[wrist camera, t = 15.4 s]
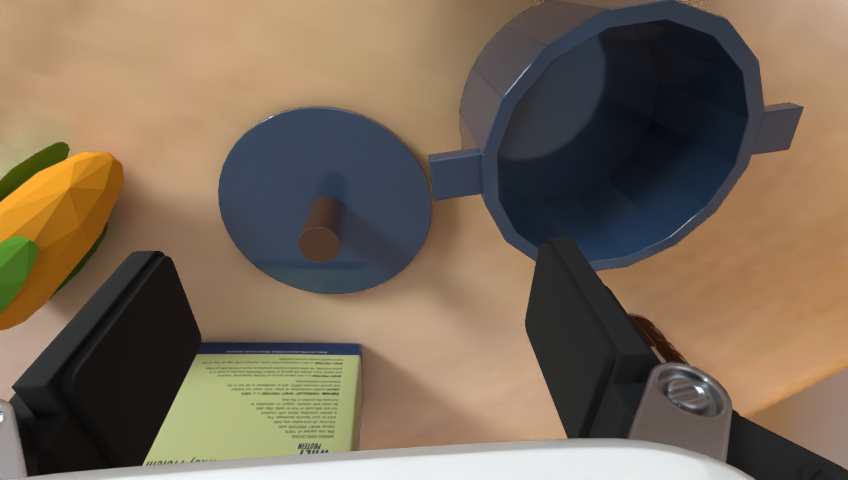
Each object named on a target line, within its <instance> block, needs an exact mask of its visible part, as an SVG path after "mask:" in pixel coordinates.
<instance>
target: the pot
mask: <svg viewBox="0 0 848 480" xmlns="http://www.w3.org/2000/svg"><path fill="white" fill-rule="evenodd" d="M802 111H803V107H802V106H799V105H796V104H793V103H790V102H788V103H781V104H775V105H768V106H764V102H763V94H762V85H761V76H760V67H759V61H758V59H757V58H756V56H755V55H754V54H753V52H752V51H751V50H750V48H749V47H748V46H747V45H746V43H745V42H744V41H743V39H742V38H741V37H740V35H739V34H738V33H737V31H736V30H735V29H734V27H733V26H732V25H731V23H730V22H729V21H728V20H727V19H725V18H724V17H721V16H718V15H716V14H713V13H710V12H707V11H704V10H702V9H699V8H696V7H693V6H690V5H688V4H685V3H682V2H679V1H676V0H545V1H544V2H542V3H540V4H538V5H536V6H534V7H532V8H530V9H528V10H526V11H524V12H522V13H521V14H520V15H518V16H517V17H515V18H514V19H513V20H511V21H510V22H509V23H507V24H506V25H505V26H504V27H503V28H502V29H501V30H500V31H499V32H497V33H496V35H495V36H494V37H493V38H492V39H491V40H490V42H489V43H488V44H487V45H486V46H485V48H484V49H483V51H482V52H481V54H480V55H479V57H478V58H477V60H476V62H475V64H474V66H473V67H472V70H471V71H470V74H469V76H468V79H467V82H466V84H465V87H464V91H463V95H462V99H461V106H460V110H459V115H460V134H461V140H462V150H459V151H452V152H446V153H439V154H432V155H429V156H428V157H429V165H430V173H431V181H432V189H433V195H434V200H442V199H449V198H456V197H463V196H470V195H477V194H481V196H482V198H483V200H484V203H485V205H486V207H487V209H488V210H489V212H490V214H491V216H492V218H493V219H494V221H495V223H496V225H497V227H498V228H499V230H500V232H501V234H502V236H503V237H504V239H505V240H506V242H508V243H509V244H511V245H512V246H514V247H515V248H517V249H518V250H519V251H521V252H522V253H524V254H525V255H527V256H528V257H530V258H531V259H533V260H534V261H536V260H537V255H538V250H539V246H540V244H545V243H546V241H547V239H548V238H565V237H569V238H572V239H573V241H574V242H575V243H576V245H577V246H578V248H579V249H580V251H581V252H582V254H583V255H584V256H585V258H586V259H587V261H588V262H589V264H590V265H591V267H592V268H593V269H594V271H599V270H606V269H613V268H620V267H627V266H630V265H632V264H634V263H637V262H639V261H641V260H643V259H645V258H648V257H650V256H652V255H654V254H656V253H659V252H661V251H663V250H665V249H668V248H670V247H672V246H674V245H676V244H677V243H678V242H679V241H681V240H682V239H683V238H684V237H685V236H687V235H688V234H689V233H690V232H692V231H693V230H694V229H695V228H696V227H698V226H699V225H700V224H701V223H703V222H704V221H705V220H706V219H707V218H709V217H710V216H711V215H712V214H714V213H715V212H716V210H717V209H718V208H719V207H720V205H721V204H722V202H723V201H724V199H725V198H726V197H727V195H728V194H729V192H730V191H731V190H732V188H733V187H734V185H735V184H736V182H737V181H738V180H739V178H740V177H741V175H742V174H743V172H744V171H745V170H746V168H747V167H748V166H747V165H748V164H749V161H750V158H751V155H753V154H760V153H767V152H774V151H781V150H788V149H789V148H790V145H791V142H792V139H793V136H794V133H795V131H796V128H797V125H798V122H799V119H800V117H801V114H802Z"/></svg>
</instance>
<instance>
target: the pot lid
mask: <svg viewBox="0 0 848 480" xmlns="http://www.w3.org/2000/svg"><path fill="white" fill-rule="evenodd" d="M218 194H219V206H220V211H221V216H222V219H223V221H224V224H225V227H226V229H227V231H228V233H229V235H230V237H231V239H232V240H233V242H234V243H235V245H236V246H237V247H238V249H239V250H240V251H241V252H242V253H243V255H244V256H245V257H246V258H247V259H248V260H249V261H250V262H251V263H253V264H254V265H255V266H256V267H257V268H258V269H260V270H261V271H263V272H264V273H266V274H267V275H269V276H270V277H272V278H274V279H276V280H278V281H280V282H282V283H284V284H286V285H289V286H291V287H295V288H298V289H301V290H305V291H310V292H315V293H324V294H343V293H352V292H357V291H362V290H366V289H369V288H372V287H375V286H377V285H379V284H382V283H384V282H386V281H387V280H389V279H391V278H392V277H394V276H395V275H397V274H398V273H399V272H401V271H402V270H403V269H404V268H405V267H406V266H407V265H408V264H409V263H410V262H411V261H412V260H413V259H414V257H415V256H416V255H417V254H418V252H419V250H420V249H421V247H422V245H423V243H424V241H425V239H426V236H427V234H428V230H429V226H430V222H431V211H432V208H431V196H430V191H429V186H428V182H427V179H426V177H425V174H424V171H423V169H422V167H421V165H420V164H419V162H418V160H417V158H416V157H415V156H414V154H413V153H412V151H411V150H410V149H409V148H408V147H407V145H406V144H405V143H404V142H403V141H402V140H401V139H400V138H399V137H398V136H396V135H395V134H394V133H393V132H391V131H390V130H389V129H388V128H386V127H384V126H383V125H381V124H380V123H378V122H376V121H375V120H372V119H370V118H368V117H366V116H364V115H362V114H359V113H355V112H352V111H349V110H345V109H340V108H334V107H324V106H310V107H299V108H294V109H290V110H285V111H282V112H280V113H277V114H274V115H271V116H269V117H268V118H266V119H264V120H262V121H260V122H259V123H257V124H256V125H255V126H253V127H252V128H251V129H249V130H248V131H247V132H246V133H245V134H244V135H243V136H242V137H241V138H240V139H239V140H238V141H237V142H236V144H235V145H234V147H233V148H232V150H231V151H230V153H229V154H228V156H227V158H226V161H225V163H224V165H223V168H222V172H221V175H220V180H219V189H218Z"/></svg>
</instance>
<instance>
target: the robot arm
mask: <svg viewBox="0 0 848 480" xmlns="http://www.w3.org/2000/svg"><path fill="white" fill-rule="evenodd" d="M525 327H526V332H527V335H528V337H529V340H530V342H531V345H532V348H533V350H534V353H535V355H536V358H537V360H538V363H539V366H540V368H541V371H542V373H543V376H544V378H545V381H546V384H547V386H548V389H549V391H550V394H551V396H552V399H553V402H554V404H555V407H556V409H557V412H558V414H559V417H560V420H561V422H562V425H563V427H564V430H565V433H566V435H567V438H568V439H549V440H527V441H506V442H490V443H473V444H457V445H441V446H425V447H408V448H393V449H377V450H362V451H347V452H332V453H317V454H302V455H288V456H273V457H258V458H244V459H230V460H217V461H203V462H189V463H175V464H161V465H147V466H142V465H143V463H144V461H145V459H146V457H147V455H148V453H149V451H150V449H151V447H152V445H153V443H154V441H155V439H156V437H157V435H158V433H159V431H160V428H161V426H162V424H163V422H164V420H165V418H166V416H167V414H168V412H169V410H170V408H171V406H172V404H173V402H174V400H175V398H176V396H177V394H178V392H179V390H180V388H181V386H182V383H183V381H184V379H185V377H186V375H187V373H188V371H189V369H190V367H191V365H192V363H193V361H194V359H195V357H196V355H197V353H198V351H199V348H200V345H201V334H200V331H199V329H198V326H197V323H196V321H195V318H194V315H193V313H192V310H191V308H190V305H189V302H188V300H187V297H186V294H185V292H184V289H183V287H182V284H181V281H180V279H179V276H178V273H177V271H176V268H175V266H174V263H173V261H172V259H171V258H170V257H168V256H165V255H164V254H163V253H162V252H161V251H136V252H132V253H131V254H130V255H129V256H128V257H127V258H126V259H125V261H124V262H123V263H122V264H121V265H120V266H119V267H118V268H117V269H116V271H115V272H114V273H113V274H112V275H111V276H110V277H109V278H108V280H107V281H106V282H105V283H104V284H103V285H102V286H101V287H100V289H99V290H98V291H97V292H96V293H95V294H94V295H93V296H92V297H91V299H90V300H89V301H88V302H87V303H86V304H85V305H84V306H83V308H82V309H81V310H80V311H79V312H78V313H77V314H76V315H75V317H74V318H73V319H72V320H71V321H70V322H69V323H68V324H67V325H66V327H65V328H64V329H63V330H62V331H61V332H60V333H59V334H58V336H57V337H56V338H55V339H54V340H53V341H52V342H51V343H50V345H49V346H48V347H47V348H46V349H45V350H44V351H43V352H42V353H41V355H40V356H39V357H38V358H37V359H36V360H35V361H34V362H33V364H32V365H31V366H30V367H29V368H28V369H27V370H26V371H25V373H24V374H23V375H22V376H21V377H20V378H19V379H18V380H17V381H16V383H15V384H14V385H13V386H12V388H13V390H14V391H15V392H16V393H15V395H14V396H13V397H12V398H11V399H10V400H9V402H7V401H4V400H2V399H0V480H848V471H847V470H846V469H844V468H843V467H841V466H839V465H837V464H835V463H833V462H831V461H829V460H827V459H825V458H823V457H821V456H819V455H817V454H815V453H813V452H811V451H809V450H807V449H805V448H803V447H801V446H799V445H797V444H795V443H793V442H791V441H789V440H787V439H785V438H783V437H781V436H779V435H777V434H775V433H773V432H771V431H769V430H767V429H765V428H763V427H761V426H759V425H757V424H755V423H753V422H751V421H749V420H748V419H746V418H744V417H742V416H740V415H738V414H736V413H734V412H732V403H731V399H730V397H729V395H728V393H727V392H726V390H725V389H724V388H723V387H722V386H721V385H720V383H719V382H718V381H717V380H715V379H714V378H713V377H711V376H710V375H709V374H707V373H705V372H704V371H702V370H700V369H698V368H696V367H693V366H690V365H687V364H684V363H678V362H665V363H661V361H660V360H659V358H658V357H657V355H656V354H655V353H654V351H653V350H652V348H651V347H650V345H649V344H648V343H647V341H646V340H645V338H644V337H643V335H642V334H641V333H640V331H639V330H638V328H637V327H636V325H635V324H634V323H633V321H632V320H631V318H630V317H629V316H628V314H627V313H626V311H625V310H624V308H623V307H622V306H621V304H620V303H619V301H618V300H617V298H616V297H615V296H614V294H613V293H612V291H611V290H610V289H609V288H608V287H607V286H605V285H604V284H603V282H602V281H601V280H600V278H599V277H598V275H597V274H596V272H595V271H594V269H593V268H592V267H591V265H590V264H589V262H588V261H587V259H586V258H585V256H584V255H583V254H582V252H581V251H580V249H579V248H578V246H577V245H576V243H575V242H574V241H573V239H572V238H569V237H565V238H548V239H547V241H546V243H545V244H540V246H539V250H538V255H537V260H536V266H535V271H534V276H533V281H532V287H531V292H530V297H529V303H528V308H527V313H526V318H525Z"/></svg>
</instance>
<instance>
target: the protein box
mask: <svg viewBox="0 0 848 480" xmlns="http://www.w3.org/2000/svg"><path fill="white" fill-rule="evenodd" d="M361 411H362V351H361V344H323V343H201V345H200V348H199V351H198V353H197V355H196V357H195V359H194V361H193V363H192V365H191V367H190V369H189V371H188V373H187V375H186V377H185V379H184V381H183V383H182V386H181V388H180V390H179V392H178V394H177V396H176V398H175V400H174V402H173V404H172V406H171V408H170V410H169V412H168V414H167V416H166V418H165V420H164V422H163V424H162V426H161V428H160V431H159V433H158V435H157V437H156V439H155V441H154V443H153V445H152V447H151V449H150V451H149V453H148V455H147V457H146V459H145V461H144V463H143V465H142V466H147V465H161V464H175V463H189V462H203V461H217V460H230V459H244V458H258V457H273V456H288V455H302V454H317V453H332V452H347V451H359V440H360V425H361Z"/></svg>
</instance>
